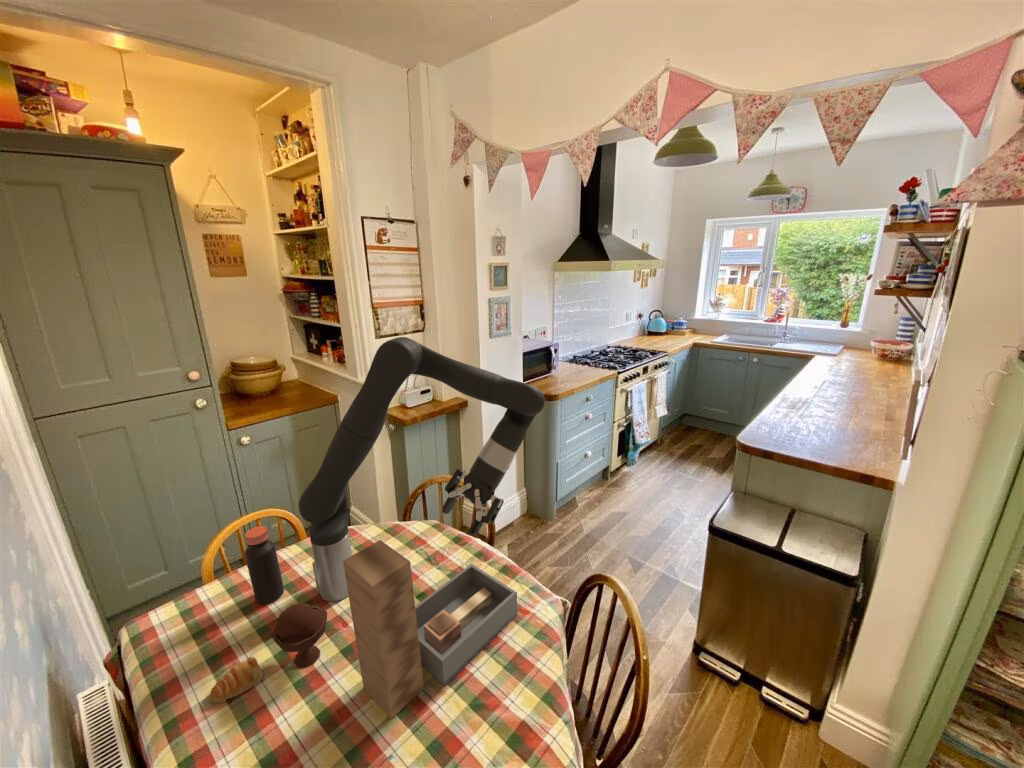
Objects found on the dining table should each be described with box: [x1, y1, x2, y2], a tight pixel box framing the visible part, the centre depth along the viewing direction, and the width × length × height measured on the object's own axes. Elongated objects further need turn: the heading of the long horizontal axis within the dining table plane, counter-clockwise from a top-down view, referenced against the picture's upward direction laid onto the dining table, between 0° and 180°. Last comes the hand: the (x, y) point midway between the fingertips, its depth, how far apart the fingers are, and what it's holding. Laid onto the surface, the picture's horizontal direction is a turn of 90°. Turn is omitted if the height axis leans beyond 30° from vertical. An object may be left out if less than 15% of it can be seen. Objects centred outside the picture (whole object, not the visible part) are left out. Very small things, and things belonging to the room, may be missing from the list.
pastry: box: [209, 656, 265, 703], centre depth 90 cm, size 9×7×4 cm
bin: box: [415, 563, 518, 687], centre depth 102 cm, size 24×16×7 cm, turn 140°
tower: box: [343, 539, 425, 720], centre depth 85 cm, size 8×10×32 cm
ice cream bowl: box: [272, 602, 328, 669], centre depth 94 cm, size 11×11×15 cm
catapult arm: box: [424, 588, 492, 654], centre depth 103 cm, size 18×6×4 cm, turn 139°
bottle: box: [244, 525, 285, 605], centre depth 112 cm, size 7×7×20 cm
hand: (457, 523), depth 98 cm, fingers open, 8 cm apart
